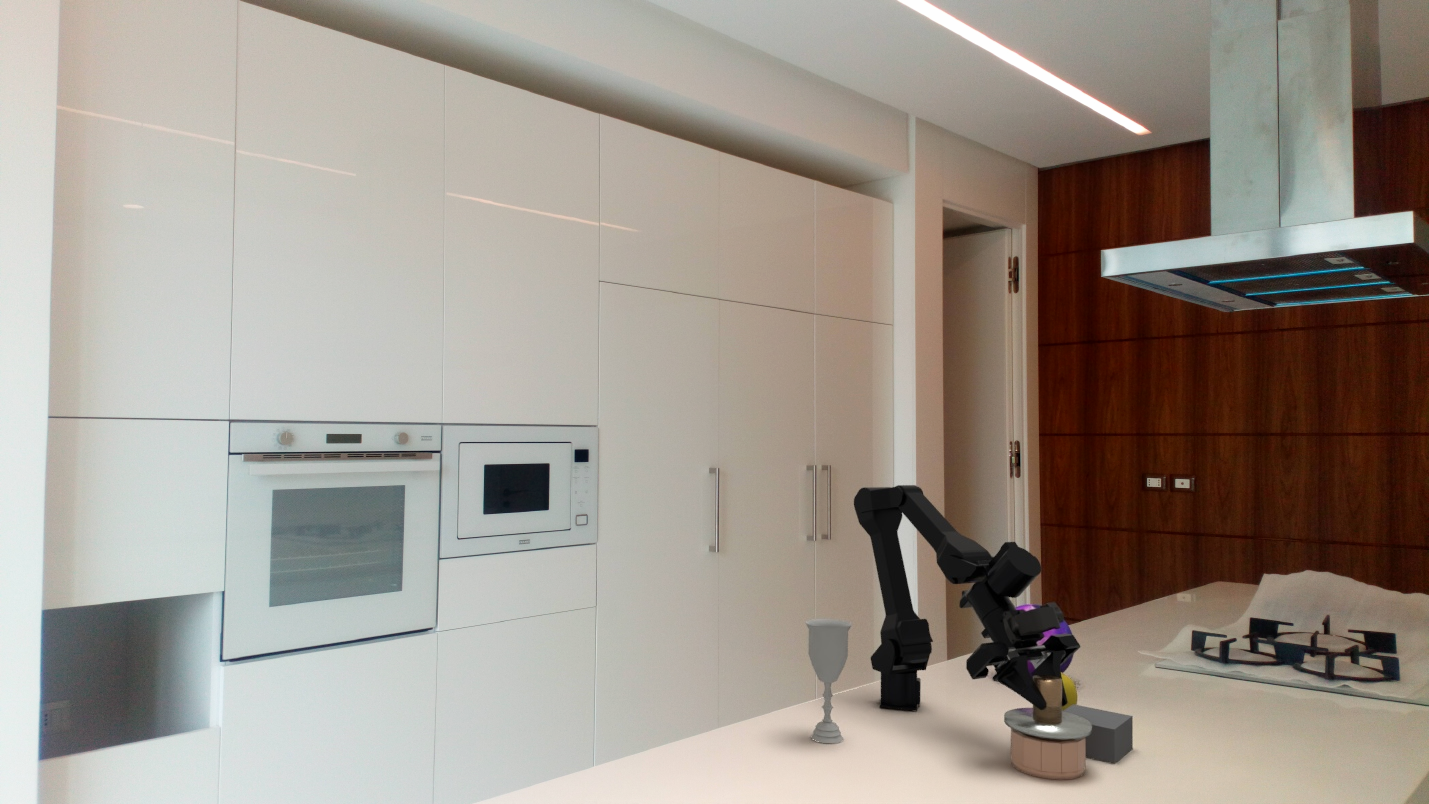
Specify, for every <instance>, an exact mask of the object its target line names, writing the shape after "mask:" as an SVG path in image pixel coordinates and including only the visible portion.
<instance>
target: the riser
mask: <svg viewBox="0 0 1429 804" xmlns="http://www.w3.org/2000/svg"><path fill="white" fill-rule="evenodd" d="M1063 711H1064V712H1068V713H1072V714H1075V715H1078V716H1080V717H1083V718H1085V719H1086V720H1088V721H1089V722H1090V723H1091V724H1092V733H1091V734H1090V735H1089V736H1087V737H1085V758H1087V759H1092V760H1096V761H1101V762H1105V763H1110V764H1114V765H1115V764H1116V763H1118V762H1119V761H1120V760H1121V759H1123V758H1124V756H1126V755H1127V754H1128V753H1129V752H1130V751H1132V750H1133V749H1134V747H1133V743H1134V742H1133V741H1134V740H1133V730H1134V729H1133V727H1134V725H1133V722H1134V721H1133V715H1129V714H1123V713H1118V712H1116V711H1115V712H1114V711H1109V710H1105V709H1099V708H1095V707H1088V706H1084V705H1079V704H1077V705H1075V704H1073V705H1071V706H1070V707H1068V708H1066V709H1065V710H1063Z"/></svg>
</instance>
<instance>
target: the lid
mask: <svg viewBox="0 0 1429 804" xmlns="http://www.w3.org/2000/svg"><path fill="white" fill-rule="evenodd" d="M1033 680H1034V682H1035V684H1036V686H1037V687H1038V689H1039V691H1040V693H1041V695H1042V697H1043V699H1044V701H1045V703H1046V706H1047V707H1046V708H1045V709H1044V710H1040V709H1038V708H1037V707H1036V706H1034V705H1033V704H1032V707H1019V708H1012V709H1010V710H1007V711H1005V712H1004V715H1003V722H1004V724H1005V725H1006V726H1007V727H1008V728H1009V729H1010V730H1011V729H1014V730H1016V731H1018V732H1021V733H1024V734H1028V735H1032V736H1037V737H1043V738H1050V739H1079V738H1084V737H1087V736H1089V735H1090V734H1091V733H1092V724H1091V723H1090V722H1089V721H1088V720H1086V719H1085V718H1083V717H1080V716H1078V715H1075V714H1072V713H1068V712H1064V711H1062V679H1061V678H1059V677H1055V676H1050V675H1035V676H1033Z"/></svg>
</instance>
